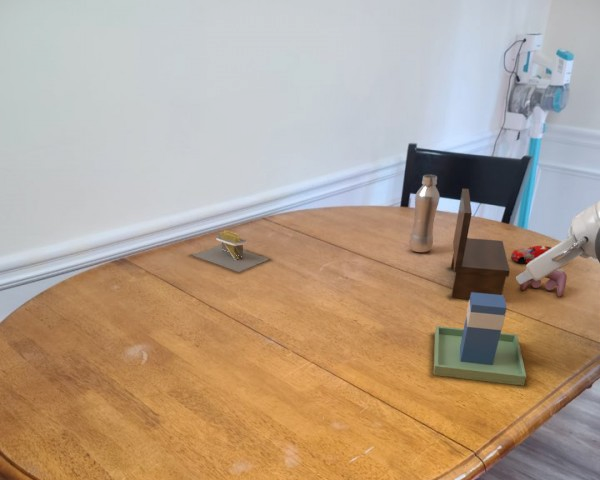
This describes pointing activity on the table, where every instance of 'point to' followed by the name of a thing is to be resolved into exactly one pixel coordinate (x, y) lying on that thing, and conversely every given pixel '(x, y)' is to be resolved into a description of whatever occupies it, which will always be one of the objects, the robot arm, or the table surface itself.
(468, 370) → the tray
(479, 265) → the wooden toy chair
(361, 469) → the table surface
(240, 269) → the platform
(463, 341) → the box
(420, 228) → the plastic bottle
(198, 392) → the table surface
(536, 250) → the race car
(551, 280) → the video game controller
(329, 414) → the table surface
